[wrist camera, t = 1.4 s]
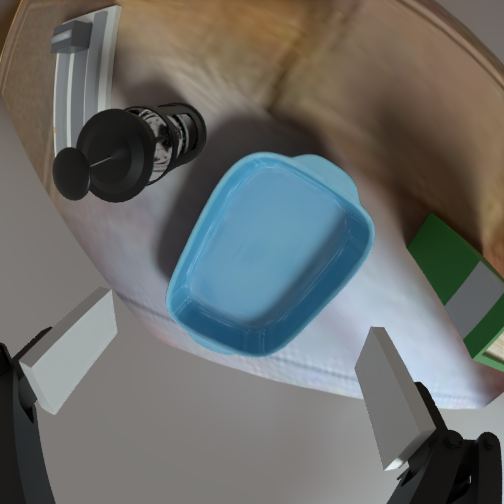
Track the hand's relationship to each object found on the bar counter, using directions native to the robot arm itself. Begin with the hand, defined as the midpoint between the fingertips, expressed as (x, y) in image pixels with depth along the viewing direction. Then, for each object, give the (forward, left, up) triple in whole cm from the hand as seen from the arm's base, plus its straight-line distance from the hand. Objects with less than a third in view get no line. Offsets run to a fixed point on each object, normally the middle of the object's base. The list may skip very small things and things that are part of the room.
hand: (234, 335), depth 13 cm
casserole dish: (+13, +1, -30) cm, 32 cm away
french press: (-5, -14, -29) cm, 33 cm away
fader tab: (-22, -31, -27) cm, 47 cm away
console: (-14, -31, -29) cm, 45 cm away
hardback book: (+7, +34, -29) cm, 45 cm away
